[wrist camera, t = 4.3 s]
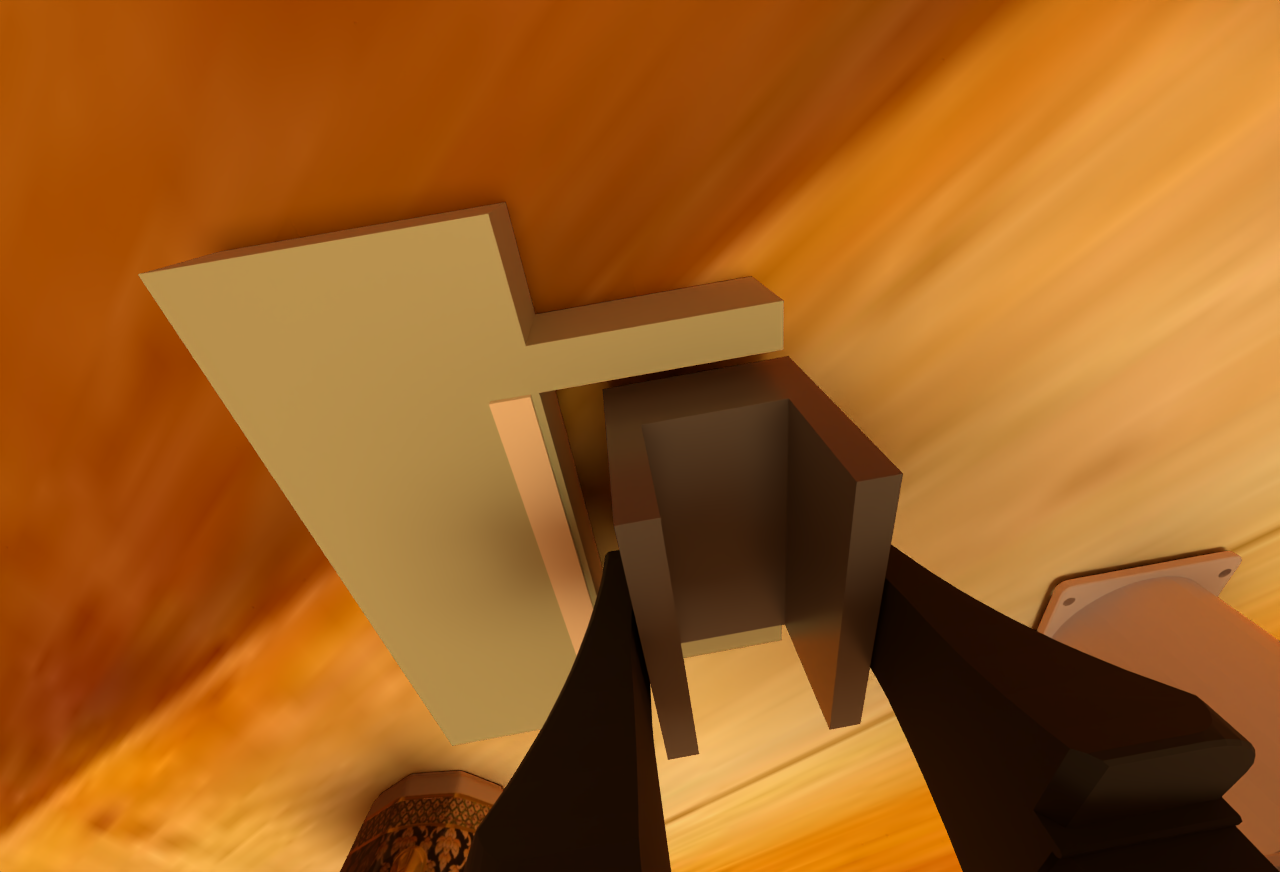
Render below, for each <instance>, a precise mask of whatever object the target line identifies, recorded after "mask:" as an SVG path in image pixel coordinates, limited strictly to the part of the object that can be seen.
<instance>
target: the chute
mask: <svg viewBox="0 0 1280 872" xmlns="http://www.w3.org/2000/svg"><path fill="white" fill-rule="evenodd" d="M603 400H604V412H605V424H606V436H607V449H608V461H609V473H610V485H611V497H612V509H613V522H614V529H615V533H616V537H617V542H618V546H619V550H620V555H621V559H622V563H623V567H624V572H625V576H626V580H627V585H628V589H629V593H630V598H631V602H632V606H633V610H634V615H635V619H636V623H637V628H638V632H639V636H640V641H641V645H642V649H643V653H644V658H645V662H646V666H647V671H648V675H649V679H650V684H651V688H652V692H653V696H654V701H655V705H656V709H657V714H658V718H659V722H660V727H661V731H662V735H663V739H664V744H665V748H666V752H667V757H668V760H669V759H675V758H680V757H686V756H691V755H696V754H699V751H698V744H697V738H696V732H695V726H694V720H693V714H692V708H691V702H690V696H689V690H688V683H687V677H686V671H685V665H684V659H683V653H682V647H681V643H687V642H692V641H697V640H703V639H708V638H714V637H719V636H725V635H730V634H735V633H741V632H746V631H752V630H757V629H763V628H768V627H773V626H779V625H784V624H785V625H786V628H787V630H788V632H789V635H790V637H791V639H792V642H793V644H794V647H795V649H796V651H797V654H798V656H799V658H800V661H801V663H802V665H803V668H804V670H805V673H806V675H807V677H808V680H809V682H810V684H811V687H812V689H813V691H814V694H815V696H816V699H817V701H818V703H819V706H820V708H821V710H822V713H823V715H824V717H825V720H826V722H827V725H828V727H829V729H836V728H841V727H846V726H852V725H857V724H860V722H861V717H862V711H863V705H864V699H865V693H866V687H867V681H868V675H869V670H870V664H871V658H872V652H873V646H874V640H875V634H876V628H877V623H878V617H879V611H880V605H881V599H882V593H883V587H884V582H885V576H886V570H887V564H888V558H889V552H890V546H891V540H892V535H893V529H894V523H895V517H896V511H897V505H898V499H899V493H900V488H901V482H902V476H903V473H902V472H901V471H900V470H899V469H898V468H897V467H896V466H895V465H894V464H893V463H892V462H891V461H890V460H889V459H888V458H887V457H886V456H885V455H884V454H883V453H882V452H881V451H880V450H879V449H878V448H877V447H876V446H875V445H874V444H873V443H872V442H871V440H870V439H869V438H868V437H867V436H866V435H865V434H864V433H863V432H862V431H861V430H860V429H859V428H858V427H857V426H856V425H855V424H854V423H853V422H852V421H851V420H850V419H849V418H848V417H847V416H846V415H845V414H844V413H843V412H842V411H841V410H840V409H839V408H838V407H837V406H836V405H835V404H834V403H833V402H832V401H831V399H830V398H829V397H828V396H827V395H826V394H825V393H824V392H823V391H822V390H821V389H820V388H819V387H818V386H817V385H816V384H815V383H814V382H813V381H812V380H811V379H810V378H809V377H808V376H807V375H806V374H805V373H804V372H803V371H802V370H801V369H800V368H799V367H798V366H797V365H796V364H795V363H794V362H793V361H792V360H791V358H790V357H789V356H787V357H781V358H776V359H770V360H764V361H759V362H753V363H747V364H742V365H736V366H731V367H725V368H719V369H714V370H708V371H703V372H697V373H691V374H686V375H680V376H674V377H669V378H663V379H658V380H652V381H646V382H641V383H635V384H630V385H624V386H618V387H613V388H607V389H603Z"/></svg>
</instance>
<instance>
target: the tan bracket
mask: <svg viewBox="0 0 1280 872" xmlns="http://www.w3.org/2000/svg"><path fill="white" fill-rule="evenodd" d="M138 275H139V277H140V278H141V280H142V281H143V283H144V284H145V286H146V287H147V289H148V290H149V292H150V293H151V295H152V296H153V298H154V299H155V301H156V302H157V304H158V305H159V307H160V308H161V310H162V311H163V313H164V314H165V316H166V317H167V319H168V320H169V322H170V323H171V325H172V326H173V328H174V329H175V331H176V332H177V334H178V335H179V337H180V338H181V340H182V341H183V343H184V344H185V346H186V347H187V349H188V350H189V352H190V353H191V355H192V356H193V358H194V359H195V361H196V362H197V364H198V365H199V367H200V368H201V370H202V371H203V373H204V374H205V376H206V377H207V379H208V380H209V382H210V383H211V385H212V386H213V388H214V389H215V391H216V392H217V394H218V395H219V397H220V398H221V400H222V401H223V403H224V404H225V406H226V407H227V409H228V410H229V412H230V413H231V415H232V416H233V418H234V419H235V421H236V422H237V424H238V425H239V427H240V428H241V430H242V431H243V433H244V434H245V436H246V437H247V439H248V440H249V442H250V443H251V445H252V446H253V448H254V449H255V451H256V452H257V454H258V455H259V457H260V458H261V460H262V461H263V463H264V464H265V466H266V467H267V469H268V470H269V472H270V473H271V475H272V476H273V478H274V479H275V481H276V482H277V484H278V485H279V487H280V488H281V490H282V491H283V493H284V494H285V496H286V497H287V499H288V500H289V502H290V503H291V505H292V506H293V508H294V509H295V511H296V512H297V514H298V515H299V517H300V518H301V520H302V521H303V523H304V524H305V526H306V527H307V529H308V530H309V532H310V533H311V535H312V536H313V538H314V539H315V541H316V542H317V544H318V545H319V547H320V548H321V550H322V551H323V553H324V554H325V556H326V557H327V559H328V560H329V562H330V563H331V565H332V566H333V568H334V569H335V571H336V572H337V574H338V575H339V577H340V578H341V580H342V581H343V583H344V584H345V586H346V587H347V589H348V590H349V592H350V593H351V595H352V596H353V598H354V599H355V601H356V602H357V604H358V605H359V607H360V608H361V610H362V611H363V613H364V614H365V616H366V617H367V619H368V620H369V622H370V623H371V625H372V626H373V628H374V629H375V631H376V632H377V634H378V635H379V637H380V638H381V640H382V641H383V643H384V644H385V646H386V647H387V649H388V650H389V652H390V653H391V655H392V656H393V658H394V659H395V661H396V662H397V664H398V665H399V667H400V668H401V670H402V671H403V673H404V674H405V676H406V677H407V679H408V680H409V682H410V683H411V685H412V686H413V688H414V689H415V691H416V692H417V694H418V695H419V697H420V698H421V700H422V701H423V703H424V704H425V706H426V707H427V709H428V710H429V712H430V713H431V715H432V716H433V718H434V719H435V721H436V722H437V724H438V725H439V727H440V728H441V730H442V731H443V733H444V734H445V736H446V737H447V739H448V740H449V742H450V743H451V745H452V746H454V745H459V744H465V743H470V742H476V741H481V740H487V739H492V738H498V737H503V736H508V735H514V734H519V733H525V732H530V731H536V730H541V729H542V727H543V725H544V723H545V721H546V720H547V718H548V716H549V714H550V712H551V710H552V708H553V706H554V704H555V702H556V700H557V698H558V696H559V694H560V692H561V690H562V688H563V686H564V684H565V682H566V679H567V677H568V675H569V673H570V671H571V668H572V666H573V664H574V661H575V659H576V656H577V654H578V651H579V649H580V646H581V643H582V641H583V638H584V635H585V632H586V630H587V627H588V624H589V621H590V618H591V615H592V611H593V608H594V605H595V602H596V598H597V595H598V591H599V587H600V583H601V578H602V574H603V569H602V566H601V562H600V558H599V554H598V550H597V547H596V543H595V539H594V535H593V531H592V528H591V524H590V520H589V516H588V512H587V509H586V505H585V501H584V497H583V494H582V490H581V486H580V482H579V478H578V475H577V471H576V467H575V463H574V459H573V456H572V452H571V448H570V444H569V440H568V437H567V433H566V429H565V425H564V422H563V418H562V414H561V410H560V406H559V403H558V399H557V395H556V391H555V390H558V389H564V388H570V387H575V386H581V385H587V384H592V383H598V382H604V381H609V380H615V379H620V378H626V377H632V376H637V375H643V374H649V373H654V372H660V371H666V370H671V369H677V368H683V367H688V366H694V365H699V364H705V363H711V362H716V361H722V360H728V359H733V358H739V357H745V356H750V355H756V354H761V353H767V352H773V351H778V350H783V320H784V301H783V300H782V299H781V298H779V297H778V296H777V295H775V294H774V293H773V292H772V291H770V290H769V289H768V288H766V287H765V286H764V285H762V284H761V283H760V282H758V281H757V280H756V279H754V278H753V277H752V276H751V277H745V278H739V279H734V280H728V281H722V282H717V283H711V284H705V285H699V286H694V287H688V288H682V289H677V290H671V291H665V292H660V293H654V294H648V295H643V296H637V297H631V298H625V299H620V300H614V301H608V302H603V303H597V304H591V305H586V306H580V307H574V308H569V309H563V310H557V311H552V312H546V313H540V314H535V312H534V308H533V304H532V300H531V296H530V293H529V289H528V285H527V281H526V277H525V274H524V270H523V266H522V262H521V259H520V255H519V251H518V247H517V243H516V240H515V236H514V232H513V228H512V224H511V221H510V217H509V213H508V209H507V205H506V202H503V203H498V204H492V205H486V206H480V207H474V208H469V209H463V210H457V211H451V212H446V213H440V214H434V215H428V216H423V217H417V218H411V219H405V220H400V221H394V222H388V223H382V224H377V225H371V226H365V227H359V228H353V229H348V230H342V231H336V232H330V233H325V234H319V235H313V236H307V237H302V238H296V239H290V240H284V241H279V242H273V243H267V244H261V245H255V246H250V247H244V248H238V249H232V250H227V251H221V252H217V253H213V254H210V255H206V256H202V257H199V258H195V259H192V260H188V261H185V262H181V263H177V264H174V265H170V266H167V267H163V268H160V269H156V270H152V271H149V272H145V273H142V274H138ZM780 640H782V625H779V626H773V627H768V628H763V629H757V630H752V631H746V632H741V633H735V634H730V635H725V636H719V637H714V638H708V639H703V640H697V641H692V642H687V643H681V647H682V653H683V658H687V657H693V656H698V655H704V654H709V653H715V652H720V651H726V650H731V649H736V648H742V647H747V646H753V645H758V644H764V643H769V642H775V641H780Z"/></svg>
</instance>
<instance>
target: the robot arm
mask: <svg viewBox="0 0 1280 872" xmlns="http://www.w3.org/2000/svg"><path fill="white" fill-rule="evenodd" d="M1241 561H1242V559H1241V557H1240V556H1238V555H1237V554H1235V553H1234V552H1232V551H1223V552H1217V553H1212V554H1206V555H1201V556H1195V557H1190V558H1185V559H1179V560H1174V561H1168V562H1163V563H1157V564H1152V565H1146V566H1141V567H1135V568H1130V569H1124V570H1119V571H1113V572H1108V573H1103V574H1097V575H1092V576H1086V577H1081V578H1075V579H1070V580H1066V581H1063V582H1061V583H1060V584H1058V585H1057V586H1056V588H1055V590H1054V592H1053V594H1052V597H1051V599H1050V601H1049V603H1048V606H1047V608H1046V610H1045V613H1044V615H1043V617H1042V620H1041V622H1040V624H1039V627H1038V629H1037V631H1036V630H1034V629H1031V628H1029V627H1027V626H1025V625H1023V624H1021V623H1019V622H1017V621H1015V620H1013V619H1011V618H1009V617H1007V616H1005V615H1003V614H1002V613H1000V612H998V611H996V610H994V609H992V608H991V607H989V606H987V605H985V604H983V603H982V602H980V601H978V600H976V599H974V598H972V597H971V596H969V595H967V594H966V593H964V592H962V591H960V590H959V589H957V588H956V587H954V586H952V585H951V584H949V583H948V582H946V581H944V580H943V579H941V578H940V577H938V576H936V575H935V574H933V573H932V572H930V571H929V570H927V569H926V568H924V567H923V566H921V565H920V564H918V563H917V562H915V561H914V560H913V559H911V558H910V557H908V556H907V555H905V554H904V553H902V552H901V551H900V550H898V549H897V548H895V547H894V546H893V545H891V546H890V552H889V558H888V564H887V570H886V576H885V582H884V587H883V593H882V599H881V605H880V611H879V617H878V623H877V628H876V634H875V640H874V646H873V652H872V658H871V664H870V668H871V670H872V671H873V673H874V675H875V676H876V678H877V680H878V681H879V683H880V685H881V687H882V689H883V691H884V693H885V694H886V696H887V698H888V700H889V702H890V704H891V706H892V709H893V711H894V713H895V715H896V717H897V719H898V721H899V723H900V726H901V728H902V730H903V732H904V734H905V736H906V738H907V741H908V743H909V745H910V747H911V749H912V752H913V754H914V756H915V758H916V761H917V763H918V765H919V767H920V770H921V772H922V774H923V776H924V779H925V781H926V783H927V785H928V788H929V790H930V793H931V795H932V797H933V800H934V802H935V804H936V807H937V809H938V811H939V814H940V816H941V819H942V821H943V823H944V826H945V828H946V830H947V833H948V835H949V838H950V840H951V843H952V845H953V848H954V850H955V853H956V855H957V858H958V861H959V863H960V866H961V868H962V871H963V872H1280V641H1279V640H1277V639H1276V638H1275V637H1273V636H1272V635H1270V634H1269V633H1268V632H1266V631H1265V630H1263V629H1262V628H1260V627H1259V626H1258V625H1256V624H1255V623H1253V622H1252V621H1251V620H1249V619H1248V618H1246V617H1245V616H1243V615H1242V614H1241V613H1239V612H1238V611H1236V610H1235V609H1234V608H1232V607H1231V606H1229V605H1228V604H1226V603H1225V602H1224V601H1222V600H1221V599H1219V598H1218V595H1219V594H1220V592H1221V591H1222V589H1223V588H1224V586H1225V585H1226V584H1227V582H1228V581H1229V579H1230V578H1231V576H1232V575H1233V573H1234V572H1235V571H1236V569H1237V568H1238V566H1239V565H1240V563H1241ZM464 872H671V867H670V860H669V853H668V845H667V838H666V831H665V824H664V816H663V809H662V801H661V794H660V787H659V779H658V771H657V764H656V756H655V749H654V740H653V728H652V710H651V689H650V679H649V675H648V671H647V666H646V662H645V658H644V653H643V649H642V645H641V641H640V636H639V632H638V628H637V623H636V619H635V615H634V610H633V606H632V602H631V598H630V593H629V589H628V585H627V580H626V576H625V572H624V567H623V563H622V559H621V555H620V550H616V551H611V552H608V553H607V554H606V555H605V562H604V568H603V574H602V578H601V583H600V587H599V591H598V595H597V598H596V602H595V605H594V608H593V611H592V615H591V618H590V621H589V624H588V627H587V630H586V632H585V635H584V638H583V641H582V643H581V646H580V649H579V651H578V654H577V656H576V659H575V661H574V664H573V666H572V668H571V671H570V673H569V675H568V677H567V679H566V682H565V684H564V686H563V688H562V690H561V692H560V694H559V696H558V698H557V700H556V702H555V704H554V706H553V708H552V710H551V712H550V714H549V716H548V718H547V720H546V721H545V723H544V725H543V727H542V729H541V730H540V732H539V734H538V736H537V737H536V739H535V741H534V742H533V744H532V746H531V747H530V749H529V751H528V752H527V754H526V756H525V757H524V759H523V761H522V762H521V764H520V766H519V767H518V769H517V770H516V772H515V774H514V775H513V777H512V778H511V780H510V781H509V783H508V784H507V786H506V787H505V789H504V790H503V792H502V793H501V795H500V796H499V797H498V799H497V800H496V802H495V803H494V805H493V806H492V808H491V809H490V810H489V812H488V813H487V815H486V816H485V818H484V819H483V821H482V822H481V823H480V825H479V826H478V828H477V829H476V832H475V834H474V837H473V840H472V844H471V847H470V850H469V853H468V857H467V860H466V864H465V868H464Z"/></svg>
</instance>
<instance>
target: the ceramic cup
mask: <svg viewBox="0 0 1280 872" xmlns="http://www.w3.org/2000/svg"><path fill="white" fill-rule="evenodd" d="M502 792H503V791H502V788H501V786H499V785H497V784H494V783H492V782H489V781H487V780H484V779H481V778H479V777H476V776H474V775H471V774H469V773H466V772H464V771H445V772H431V773H416V774H410V775H409V776H407V777H406V778H404V779H403V780H401V781H400V782H398V783H397V784H395V785H394V786H392V787H391V788H389V789H387V790H386V791H384V792H383V793H382V794H380V795H379V797H378V798H377V799H376V800H375V801H374V803H373V805H372V807H371V809H370V811H369V813H368V815H367V817H366V819H365V821H364V823H363V824H362V826H361V829H360V831H359V833H358V835H357V837H356V839H355V841H354V844H353V846H352V848H351V850H350V852H349V854H348V856H347V858H346V860H345V862H344V864H343V867H342V869H341V871H340V872H464V868H465V864H466V860H467V857H468V853H469V850H470V847H471V844H472V840H473V837H474V834H475V832H476V829H477V828H478V826H479V825H480V823H481V822H482V821H483V819H484V818H485V816H486V815H487V813H488V812H489V810H490V809H491V808H492V806H493V805H494V803H495V802H496V800H497V799H498V797H499V796H500V795H501V793H502Z"/></svg>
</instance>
